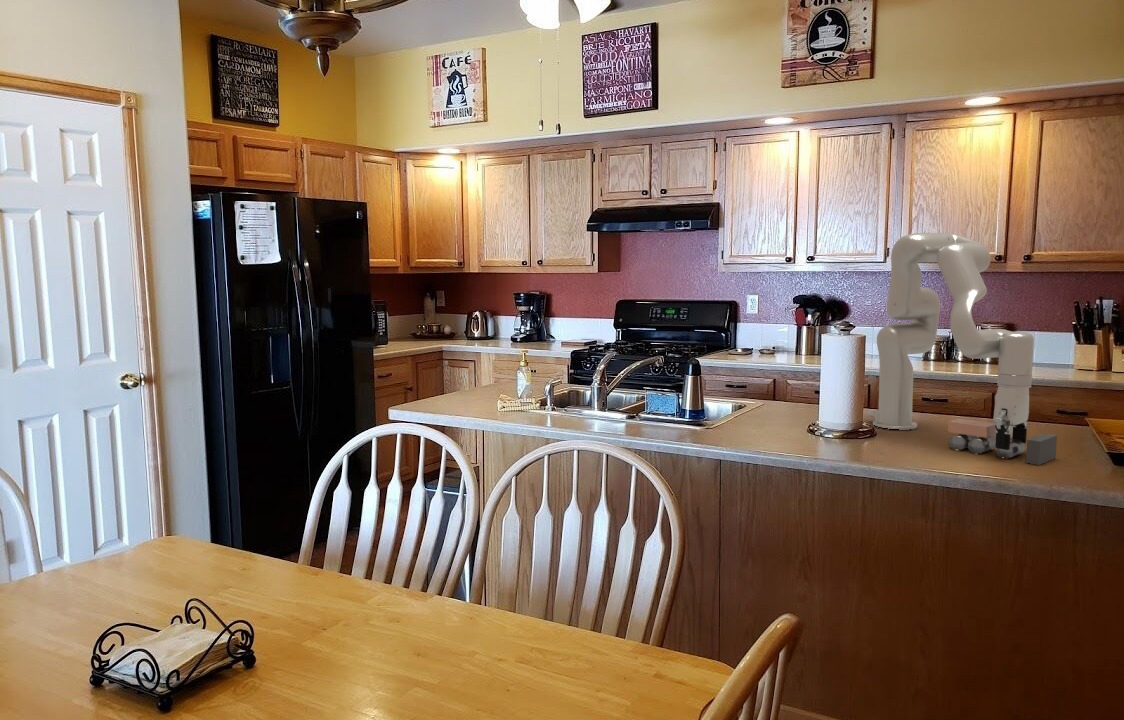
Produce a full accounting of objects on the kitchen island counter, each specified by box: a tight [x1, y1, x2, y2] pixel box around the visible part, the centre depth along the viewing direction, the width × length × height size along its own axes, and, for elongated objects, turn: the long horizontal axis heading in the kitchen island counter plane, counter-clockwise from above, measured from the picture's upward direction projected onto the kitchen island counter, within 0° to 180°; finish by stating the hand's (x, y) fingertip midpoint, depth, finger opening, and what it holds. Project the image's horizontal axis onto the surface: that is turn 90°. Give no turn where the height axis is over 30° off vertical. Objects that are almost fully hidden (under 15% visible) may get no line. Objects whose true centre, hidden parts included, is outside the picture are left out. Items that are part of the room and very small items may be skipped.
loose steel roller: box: [995, 439, 1026, 459], centre depth 202 cm, size 4×8×4 cm, turn 128°
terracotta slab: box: [947, 418, 996, 438], centre depth 209 cm, size 10×6×3 cm, turn 38°
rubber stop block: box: [1025, 433, 1058, 466], centre depth 196 cm, size 3×10×6 cm, turn 128°
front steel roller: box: [967, 436, 996, 454], centre depth 207 cm, size 4×8×4 cm, turn 128°
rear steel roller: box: [948, 433, 977, 451], centre depth 211 cm, size 4×8×4 cm, turn 128°
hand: (1010, 445), depth 202 cm, fingers open, 9 cm apart
